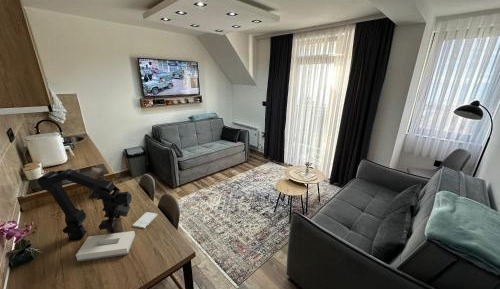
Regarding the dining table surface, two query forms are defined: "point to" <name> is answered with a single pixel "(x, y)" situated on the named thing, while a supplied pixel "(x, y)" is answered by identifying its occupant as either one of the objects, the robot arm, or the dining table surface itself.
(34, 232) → the dining table surface
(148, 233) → the dining table surface
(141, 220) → the external hard drive
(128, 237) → the slotted board
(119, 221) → the walnut plate
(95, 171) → the owl
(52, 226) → the dining table surface
